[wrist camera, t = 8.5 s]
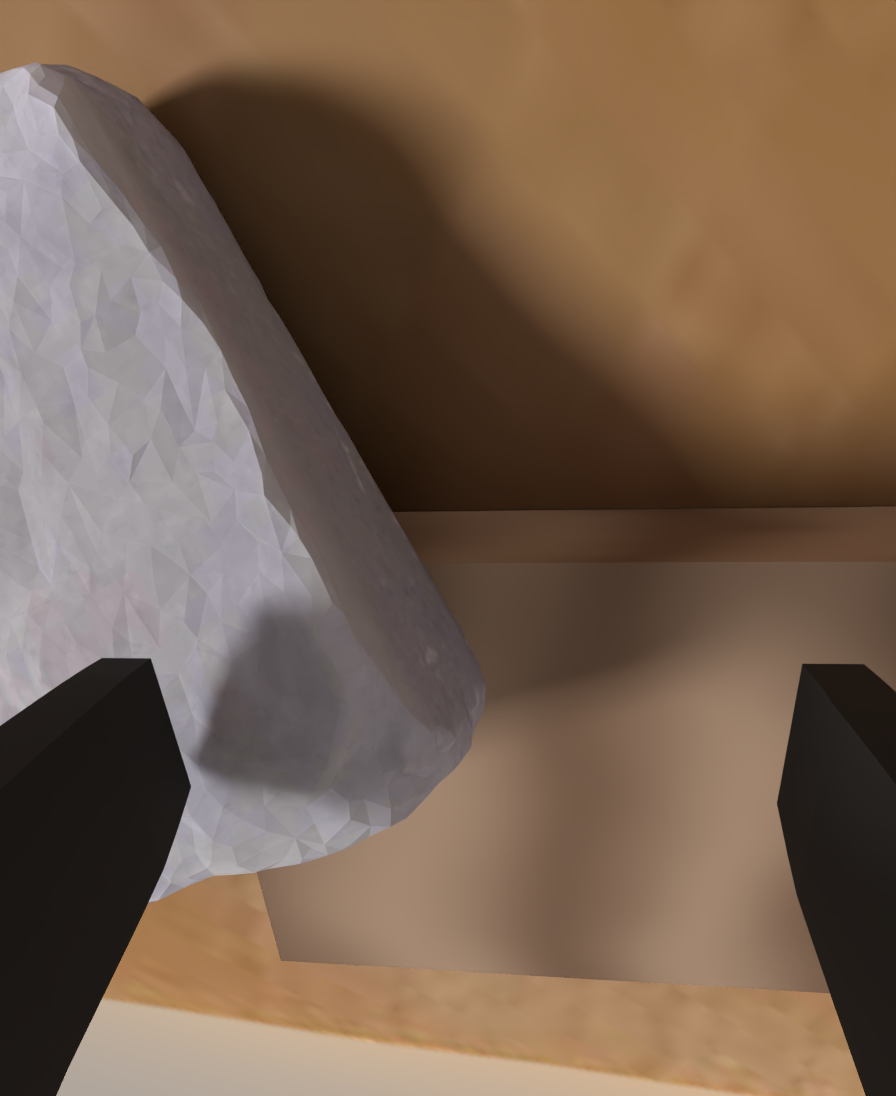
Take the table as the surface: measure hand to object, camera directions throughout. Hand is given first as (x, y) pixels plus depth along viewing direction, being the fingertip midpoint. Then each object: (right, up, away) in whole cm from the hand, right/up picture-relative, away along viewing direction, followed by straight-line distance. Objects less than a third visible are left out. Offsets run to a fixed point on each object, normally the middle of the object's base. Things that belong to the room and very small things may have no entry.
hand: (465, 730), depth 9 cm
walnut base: (+3, -2, +10) cm, 10 cm away
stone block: (-10, 0, +7) cm, 12 cm away
